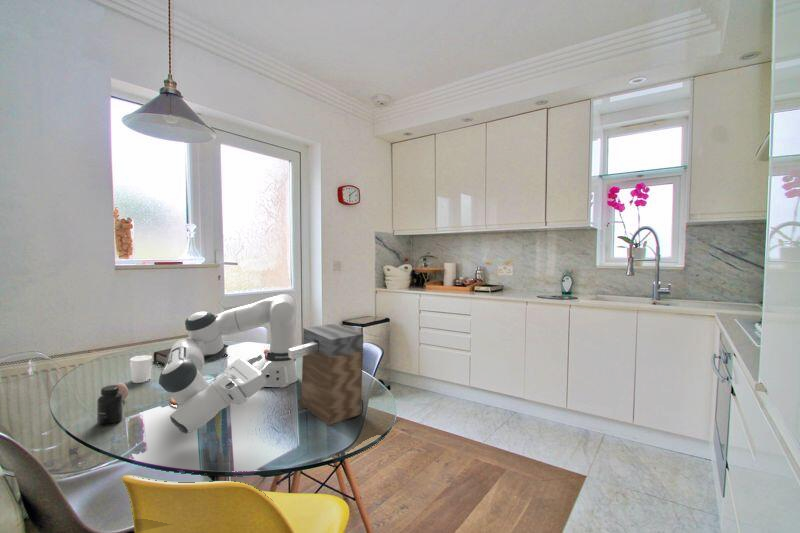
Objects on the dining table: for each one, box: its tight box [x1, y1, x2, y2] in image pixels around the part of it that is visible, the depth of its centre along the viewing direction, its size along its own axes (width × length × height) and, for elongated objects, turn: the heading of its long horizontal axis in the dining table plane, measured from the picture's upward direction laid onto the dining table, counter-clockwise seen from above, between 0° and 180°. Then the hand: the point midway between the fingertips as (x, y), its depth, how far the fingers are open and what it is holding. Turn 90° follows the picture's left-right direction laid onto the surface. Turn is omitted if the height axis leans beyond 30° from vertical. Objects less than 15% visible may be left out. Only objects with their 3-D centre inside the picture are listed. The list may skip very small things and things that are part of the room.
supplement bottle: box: [96, 384, 124, 427], centre depth 123 cm, size 7×7×12 cm
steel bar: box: [288, 341, 319, 360], centre depth 132 cm, size 18×3×3 cm, turn 132°
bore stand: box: [301, 323, 364, 426], centre depth 138 cm, size 14×20×31 cm
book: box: [153, 343, 229, 366], centre depth 190 cm, size 28×19×6 cm
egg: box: [114, 382, 129, 401], centre depth 138 cm, size 5×5×7 cm
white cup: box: [129, 354, 153, 384], centre depth 159 cm, size 8×8×10 cm
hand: (266, 359), depth 120 cm, fingers open, 8 cm apart
